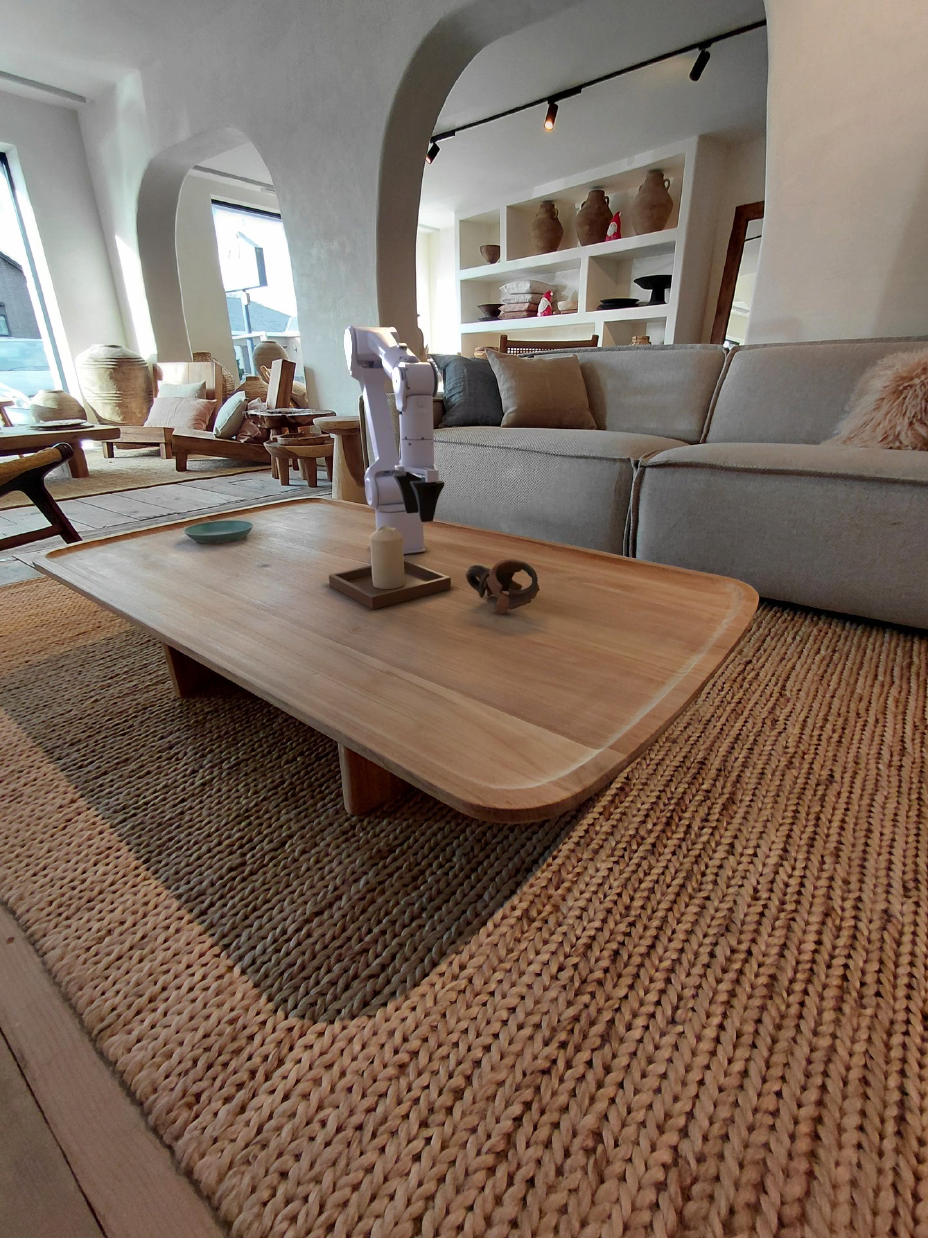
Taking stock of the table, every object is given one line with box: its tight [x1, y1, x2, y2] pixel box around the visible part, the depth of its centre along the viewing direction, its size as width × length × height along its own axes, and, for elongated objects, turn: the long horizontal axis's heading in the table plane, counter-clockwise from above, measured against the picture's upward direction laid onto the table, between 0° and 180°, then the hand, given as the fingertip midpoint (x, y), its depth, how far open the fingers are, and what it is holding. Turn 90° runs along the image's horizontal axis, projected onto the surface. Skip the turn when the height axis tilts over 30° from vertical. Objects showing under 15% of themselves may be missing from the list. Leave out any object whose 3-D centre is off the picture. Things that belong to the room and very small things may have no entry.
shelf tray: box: [328, 558, 452, 611], centre depth 100 cm, size 16×15×2 cm
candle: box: [369, 525, 405, 589], centre depth 98 cm, size 6×6×10 cm
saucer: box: [183, 519, 254, 545], centre depth 131 cm, size 15×15×3 cm
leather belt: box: [465, 558, 540, 615], centre depth 92 cm, size 12×10×8 cm
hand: (419, 516), depth 104 cm, fingers open, 7 cm apart
